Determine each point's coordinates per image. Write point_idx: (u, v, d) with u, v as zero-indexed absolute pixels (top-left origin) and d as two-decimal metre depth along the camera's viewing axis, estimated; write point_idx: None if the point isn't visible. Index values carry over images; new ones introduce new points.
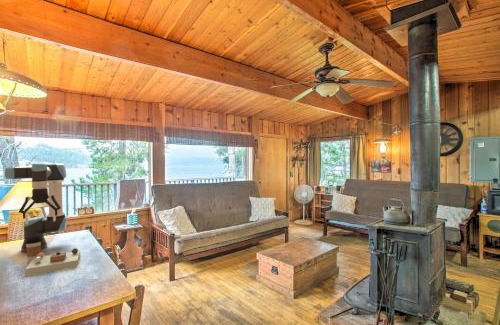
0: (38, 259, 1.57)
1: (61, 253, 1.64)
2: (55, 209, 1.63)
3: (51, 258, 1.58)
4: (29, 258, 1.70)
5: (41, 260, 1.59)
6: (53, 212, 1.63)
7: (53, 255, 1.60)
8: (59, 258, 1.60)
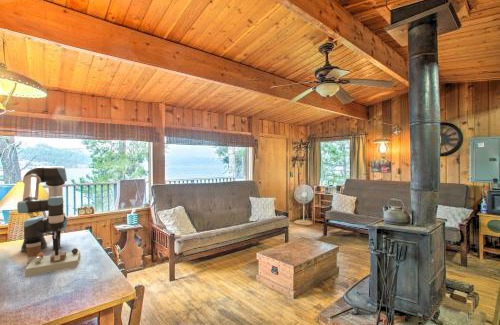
0: (38, 259, 1.57)
1: (61, 253, 1.64)
2: None
3: (51, 258, 1.59)
4: (29, 258, 1.70)
5: (41, 260, 1.59)
6: (54, 251, 1.59)
7: (53, 255, 1.61)
8: None
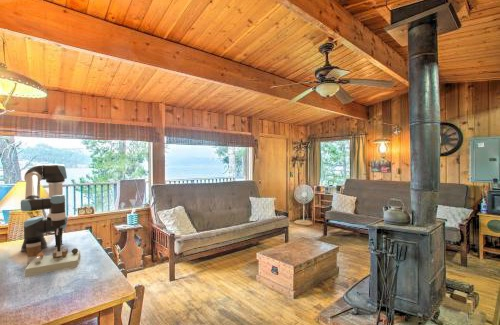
0: (38, 259, 1.57)
1: (63, 249, 1.71)
2: (56, 245, 1.64)
3: (53, 254, 1.65)
4: (29, 258, 1.70)
5: (41, 260, 1.59)
6: None
7: (55, 251, 1.68)
8: None
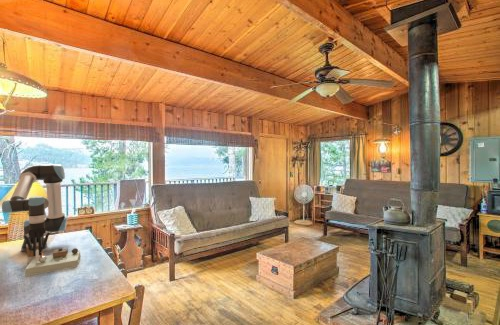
0: (43, 260, 1.58)
1: (63, 249, 1.71)
2: (39, 249, 1.57)
3: (53, 254, 1.66)
4: (29, 258, 1.70)
5: None
6: (37, 252, 1.57)
7: (55, 251, 1.68)
8: (61, 254, 1.67)
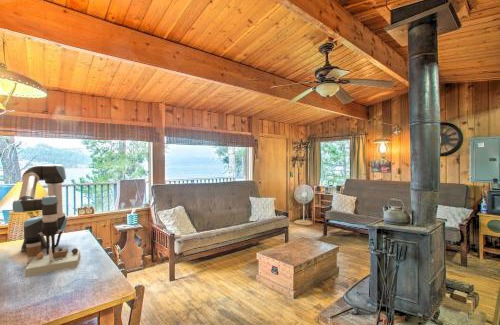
0: None
1: (63, 249, 1.71)
2: (53, 247, 1.60)
3: (53, 254, 1.66)
4: (29, 258, 1.70)
5: None
6: (50, 250, 1.60)
7: (55, 251, 1.68)
8: (61, 254, 1.67)
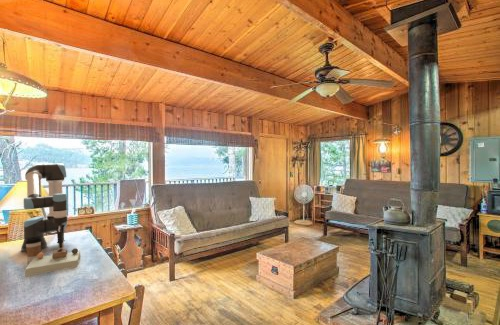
0: None
1: (63, 250, 1.70)
2: (58, 241, 1.71)
3: (53, 255, 1.64)
4: (29, 258, 1.70)
5: None
6: None
7: (55, 252, 1.66)
8: (61, 255, 1.66)
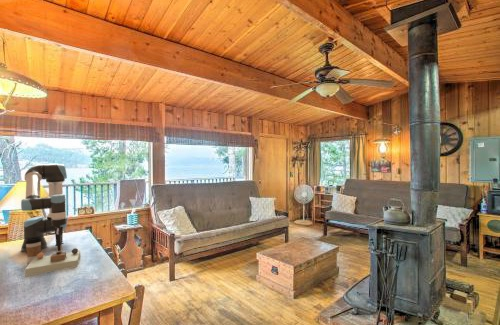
0: None
1: (61, 253, 1.65)
2: None
3: (51, 258, 1.59)
4: (29, 258, 1.70)
5: None
6: None
7: (53, 255, 1.61)
8: (59, 258, 1.61)
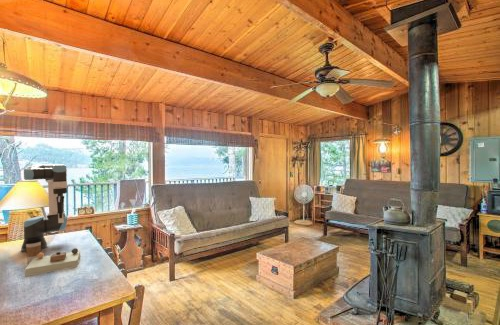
0: None
1: (61, 253, 1.64)
2: (58, 212, 1.73)
3: (51, 258, 1.59)
4: (29, 258, 1.70)
5: None
6: (58, 214, 1.74)
7: (53, 255, 1.61)
8: (59, 258, 1.61)
